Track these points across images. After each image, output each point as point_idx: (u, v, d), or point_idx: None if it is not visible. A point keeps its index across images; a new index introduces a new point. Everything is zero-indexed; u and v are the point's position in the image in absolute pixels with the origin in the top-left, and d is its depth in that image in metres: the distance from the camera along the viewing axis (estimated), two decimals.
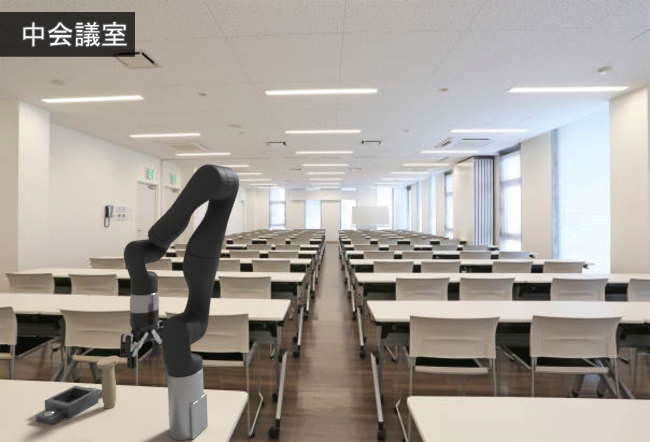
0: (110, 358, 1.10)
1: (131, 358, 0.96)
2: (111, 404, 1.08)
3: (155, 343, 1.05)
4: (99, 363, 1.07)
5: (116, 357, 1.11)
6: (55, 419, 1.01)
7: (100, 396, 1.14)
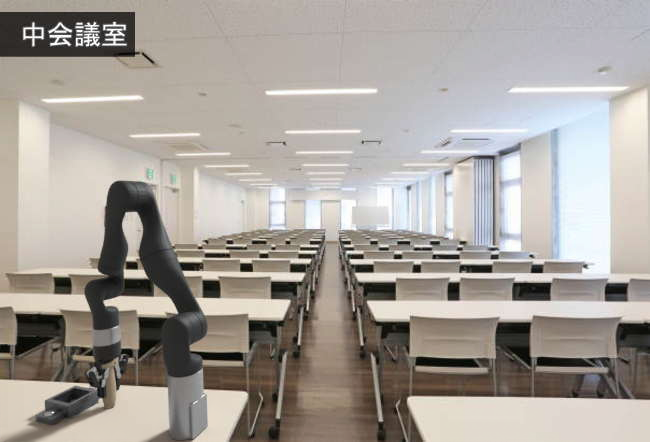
0: None
1: (101, 388, 1.06)
2: (111, 404, 1.08)
3: None
4: None
5: None
6: (55, 419, 1.01)
7: None
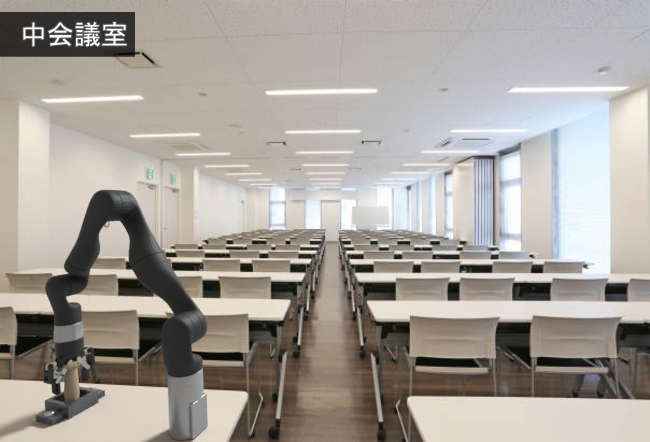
0: None
1: (55, 385, 1.04)
2: None
3: (83, 369, 1.13)
4: None
5: None
6: (55, 419, 1.01)
7: (100, 396, 1.14)
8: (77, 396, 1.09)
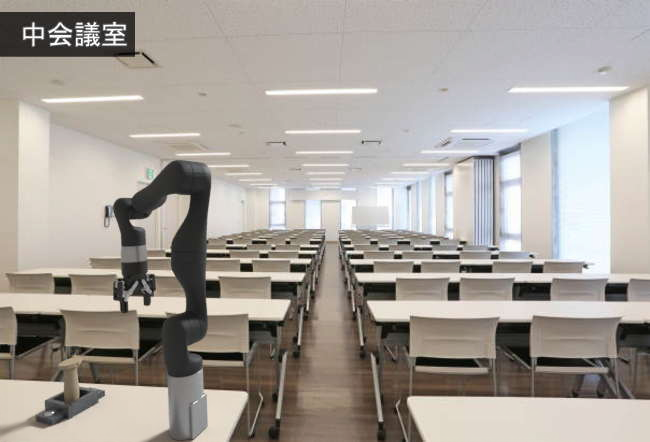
0: (73, 359, 1.10)
1: (123, 303, 1.07)
2: None
3: (146, 293, 1.16)
4: (61, 364, 1.06)
5: (79, 358, 1.10)
6: (55, 419, 1.01)
7: (100, 396, 1.14)
8: (77, 396, 1.09)
